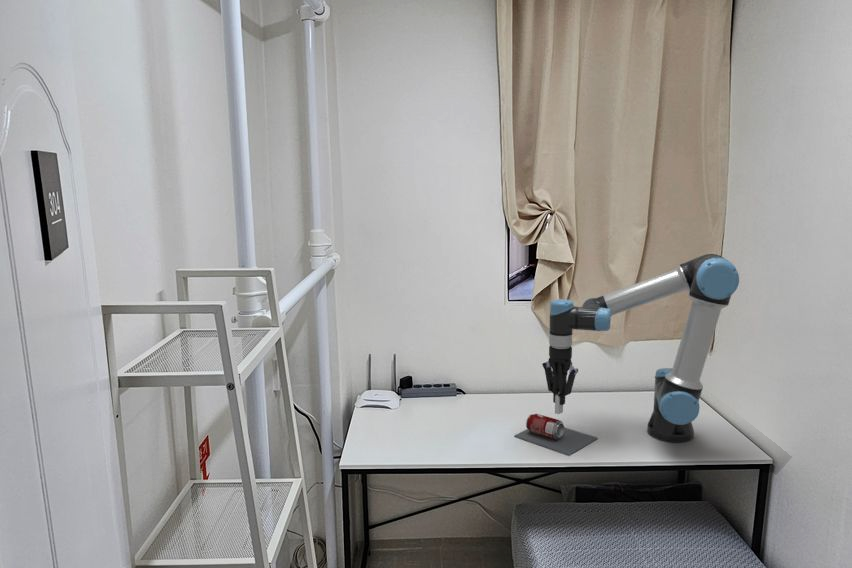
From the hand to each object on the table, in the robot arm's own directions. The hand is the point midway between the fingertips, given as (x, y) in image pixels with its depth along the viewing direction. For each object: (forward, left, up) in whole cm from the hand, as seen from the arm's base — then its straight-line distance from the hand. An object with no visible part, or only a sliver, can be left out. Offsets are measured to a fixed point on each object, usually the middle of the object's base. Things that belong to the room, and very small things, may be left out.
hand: (558, 412), depth 214 cm
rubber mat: (+1, 0, -9) cm, 9 cm away
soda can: (-2, +1, -6) cm, 6 cm away
